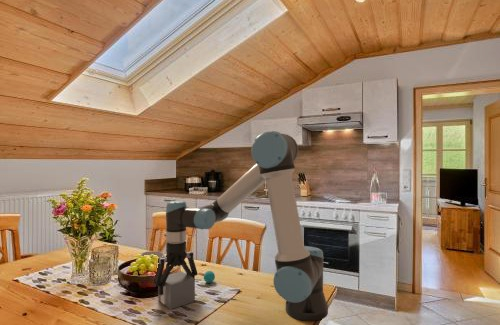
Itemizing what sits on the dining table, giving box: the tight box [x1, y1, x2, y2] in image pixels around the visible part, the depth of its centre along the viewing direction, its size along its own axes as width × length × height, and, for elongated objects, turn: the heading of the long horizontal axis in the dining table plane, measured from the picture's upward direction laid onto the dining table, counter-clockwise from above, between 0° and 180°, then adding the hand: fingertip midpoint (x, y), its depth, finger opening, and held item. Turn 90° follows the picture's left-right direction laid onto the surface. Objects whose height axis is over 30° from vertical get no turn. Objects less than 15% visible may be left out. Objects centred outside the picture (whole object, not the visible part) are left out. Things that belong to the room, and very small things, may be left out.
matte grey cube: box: [157, 271, 196, 310], centre depth 120 cm, size 10×10×9 cm
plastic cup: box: [139, 250, 166, 258], centre depth 141 cm, size 11×11×12 cm
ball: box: [203, 270, 216, 284], centre depth 139 cm, size 5×5×5 cm
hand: (176, 298), depth 120 cm, fingers closed on matte grey cube, 10 cm apart
